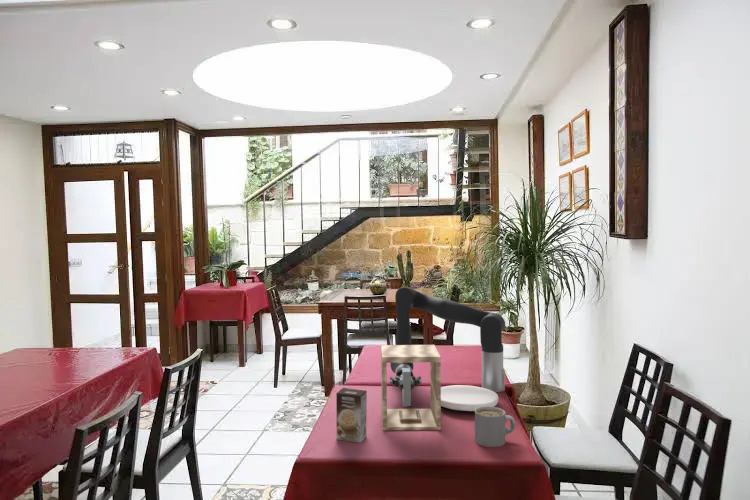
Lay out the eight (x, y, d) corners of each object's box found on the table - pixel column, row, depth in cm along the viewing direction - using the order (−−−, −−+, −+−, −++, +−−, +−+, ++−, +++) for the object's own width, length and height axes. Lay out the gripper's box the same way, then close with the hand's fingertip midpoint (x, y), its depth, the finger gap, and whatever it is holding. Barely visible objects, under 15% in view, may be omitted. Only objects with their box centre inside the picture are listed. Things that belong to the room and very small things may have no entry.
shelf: (434, 411, 205) (434, 344, 204) (440, 429, 186) (440, 356, 185) (381, 411, 205) (381, 345, 204) (382, 430, 186) (382, 357, 185)
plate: (429, 382, 227) (491, 383, 227) (429, 398, 227) (491, 398, 226) (435, 396, 199) (505, 396, 199) (435, 414, 199) (506, 414, 198)
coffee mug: (476, 446, 172) (476, 416, 171) (473, 434, 182) (473, 406, 181) (518, 447, 170) (518, 417, 170) (513, 435, 180) (513, 407, 180)
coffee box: (335, 439, 178) (334, 392, 178) (342, 432, 184) (342, 387, 184) (360, 443, 175) (360, 395, 174) (367, 436, 181) (367, 389, 181)
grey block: (409, 401, 217) (409, 367, 216) (410, 406, 211) (410, 371, 210) (402, 401, 217) (402, 367, 216) (403, 406, 211) (403, 371, 210)
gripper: (387, 366, 228) (389, 377, 210) (420, 365, 228) (424, 377, 210) (388, 383, 228) (389, 396, 211) (420, 383, 228) (424, 395, 211)
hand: (407, 386), depth 211 cm, fingers closed on grey block, 3 cm apart
